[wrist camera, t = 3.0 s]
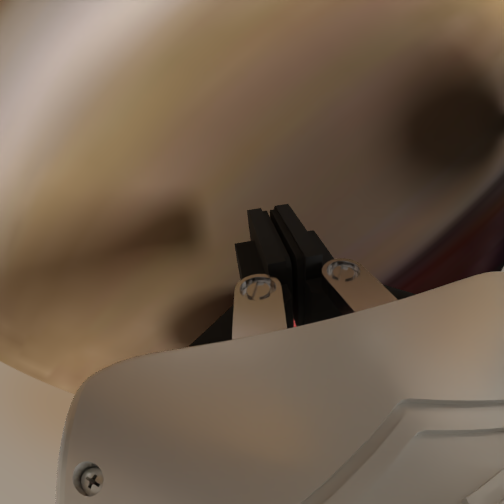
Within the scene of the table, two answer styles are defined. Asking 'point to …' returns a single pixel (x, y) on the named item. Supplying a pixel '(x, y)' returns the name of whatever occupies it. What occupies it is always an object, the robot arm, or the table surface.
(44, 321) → the table surface
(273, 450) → the robot arm
